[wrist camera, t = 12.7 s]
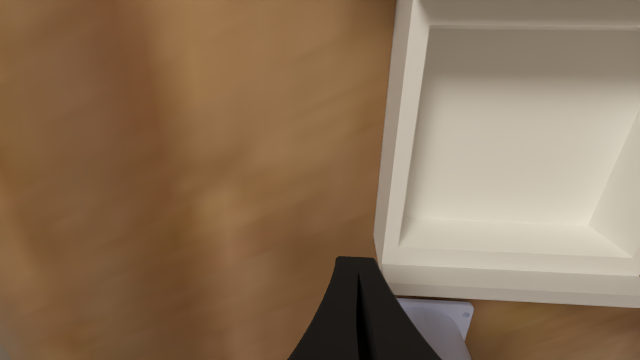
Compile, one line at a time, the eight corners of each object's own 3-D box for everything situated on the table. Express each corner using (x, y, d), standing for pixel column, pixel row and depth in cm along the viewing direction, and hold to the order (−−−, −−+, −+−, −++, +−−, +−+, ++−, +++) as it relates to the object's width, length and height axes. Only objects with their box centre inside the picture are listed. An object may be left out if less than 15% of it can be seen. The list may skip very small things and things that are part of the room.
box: (580, 244, 20) (658, 308, 15) (373, 235, 21) (383, 294, 16) (695, -16, 14) (887, -48, 9) (398, -16, 15) (427, -46, 10)
